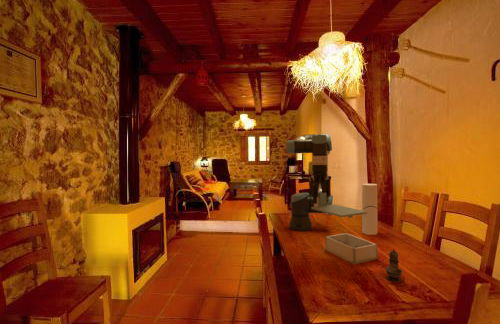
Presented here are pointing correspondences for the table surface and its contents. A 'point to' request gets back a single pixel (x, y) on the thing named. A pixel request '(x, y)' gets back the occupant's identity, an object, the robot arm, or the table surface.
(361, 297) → the table surface
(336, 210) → the lid
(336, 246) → the tub
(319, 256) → the table surface
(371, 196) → the container
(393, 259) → the dark statuette
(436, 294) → the table surface
